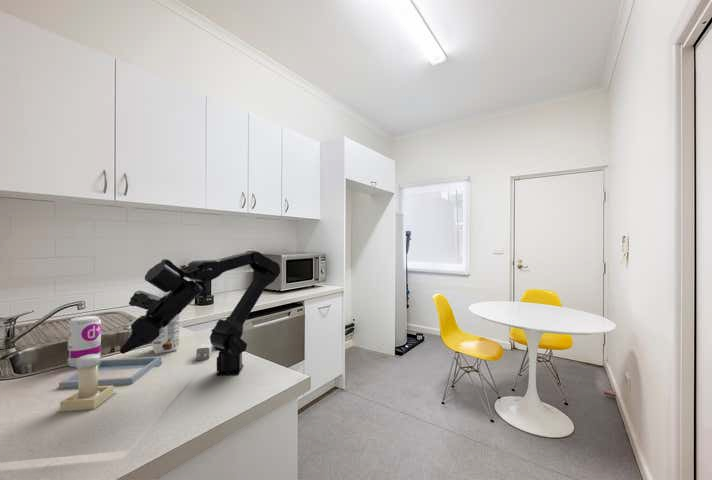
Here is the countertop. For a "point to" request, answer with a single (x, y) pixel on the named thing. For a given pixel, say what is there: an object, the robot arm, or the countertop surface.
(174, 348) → the juice carton
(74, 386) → the tray
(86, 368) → the pale spool-shaped piece
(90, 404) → the yellow rectangular frame
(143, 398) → the countertop surface
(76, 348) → the supplement can
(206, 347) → the usb wall charger
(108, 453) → the countertop surface
